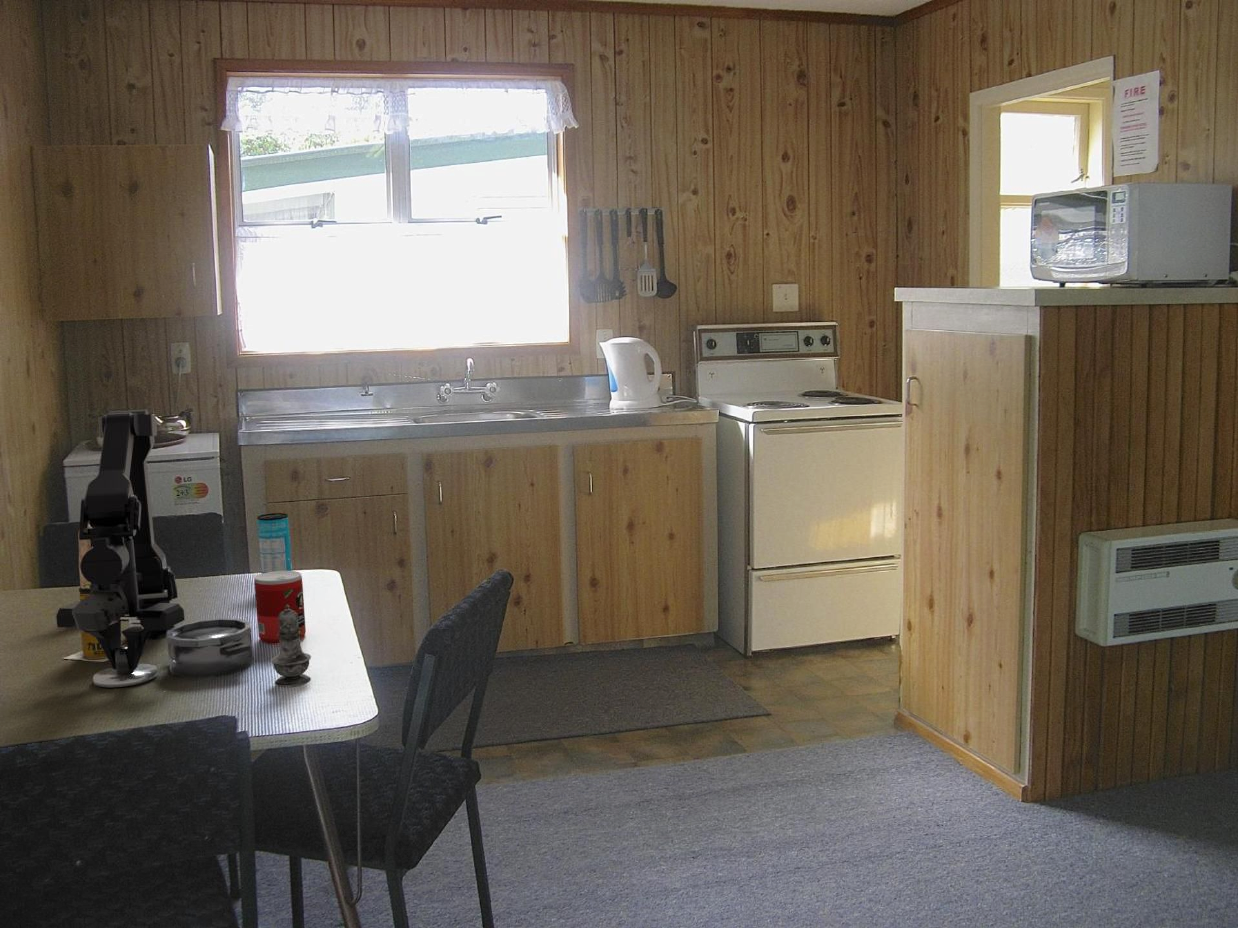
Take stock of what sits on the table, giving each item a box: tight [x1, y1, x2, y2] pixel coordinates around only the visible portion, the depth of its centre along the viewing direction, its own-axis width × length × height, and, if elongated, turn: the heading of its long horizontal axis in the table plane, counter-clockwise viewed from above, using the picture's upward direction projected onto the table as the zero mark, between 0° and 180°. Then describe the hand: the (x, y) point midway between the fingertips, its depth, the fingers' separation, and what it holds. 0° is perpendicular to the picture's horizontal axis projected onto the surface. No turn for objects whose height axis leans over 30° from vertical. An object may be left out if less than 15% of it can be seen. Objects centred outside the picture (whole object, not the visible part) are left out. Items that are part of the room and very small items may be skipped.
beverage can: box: [256, 512, 293, 574], centre depth 245 cm, size 6×6×15 cm
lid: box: [92, 644, 158, 688], centre depth 190 cm, size 9×9×5 cm
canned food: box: [254, 570, 307, 645], centre depth 210 cm, size 8×8×11 cm
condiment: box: [62, 583, 123, 663], centre depth 204 cm, size 7×8×12 cm
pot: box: [165, 617, 254, 679], centre depth 195 cm, size 18×13×6 cm
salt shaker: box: [270, 604, 312, 688], centre depth 185 cm, size 6×6×12 cm
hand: (125, 669), depth 190 cm, fingers closed on lid, 3 cm apart
